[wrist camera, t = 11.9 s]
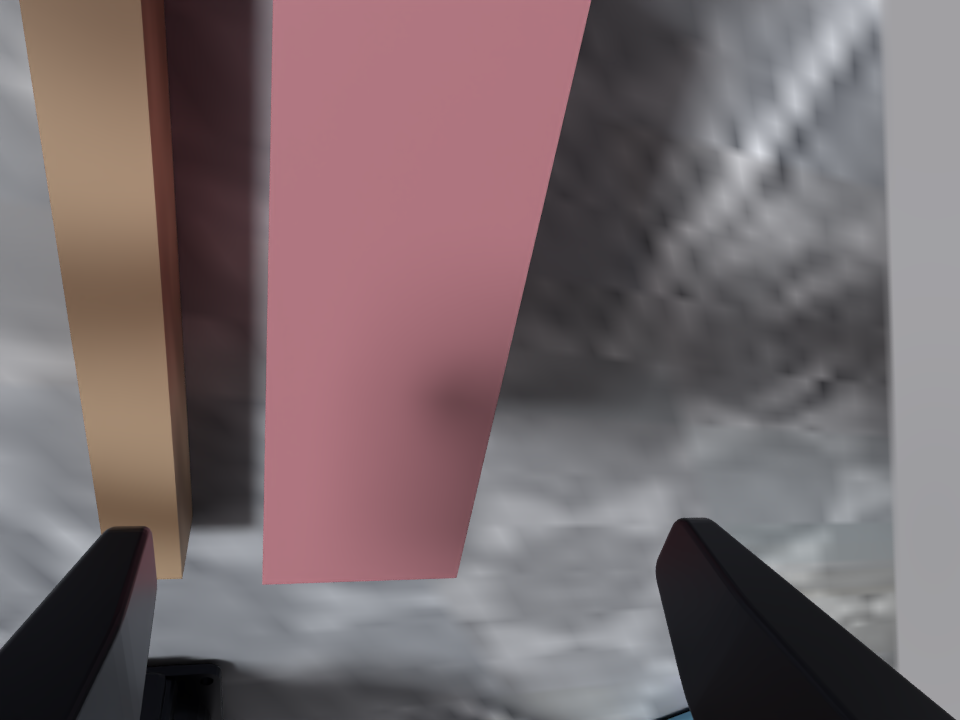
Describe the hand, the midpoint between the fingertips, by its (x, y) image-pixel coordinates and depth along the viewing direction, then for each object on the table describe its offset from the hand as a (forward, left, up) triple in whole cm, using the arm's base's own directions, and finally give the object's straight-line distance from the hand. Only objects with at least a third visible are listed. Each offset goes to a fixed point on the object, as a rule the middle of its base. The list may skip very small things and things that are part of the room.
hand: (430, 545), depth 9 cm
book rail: (-3, +6, -12) cm, 14 cm away
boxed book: (0, 0, -12) cm, 12 cm away
